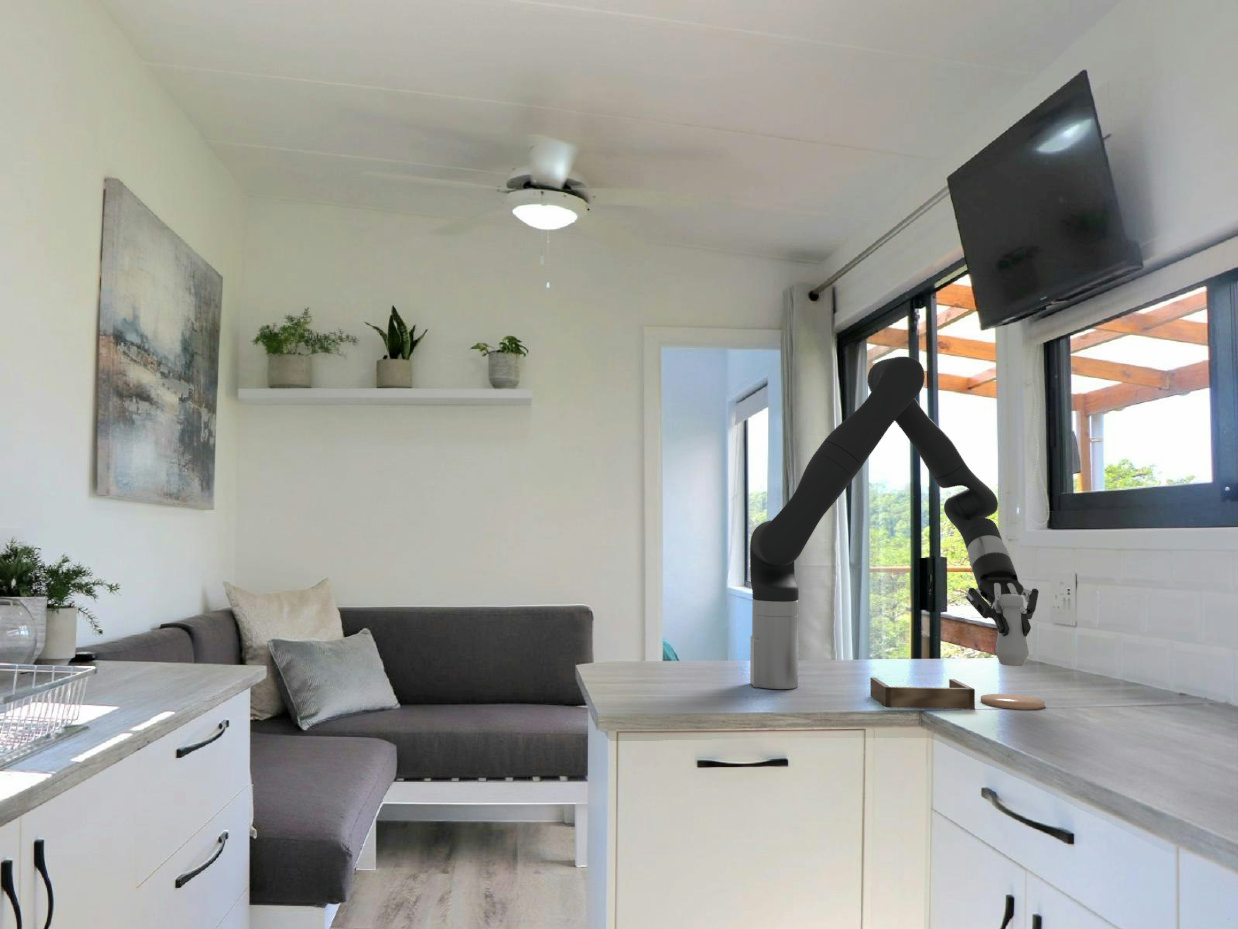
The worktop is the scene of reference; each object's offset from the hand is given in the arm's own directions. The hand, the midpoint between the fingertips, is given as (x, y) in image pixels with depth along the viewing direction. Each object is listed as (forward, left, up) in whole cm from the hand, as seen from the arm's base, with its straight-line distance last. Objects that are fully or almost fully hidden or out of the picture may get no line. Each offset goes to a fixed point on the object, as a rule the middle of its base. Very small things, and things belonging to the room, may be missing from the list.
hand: (1016, 633), depth 176 cm
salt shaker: (0, +2, -6) cm, 6 cm away
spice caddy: (-17, +2, -13) cm, 22 cm away
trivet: (0, +2, -13) cm, 13 cm away
